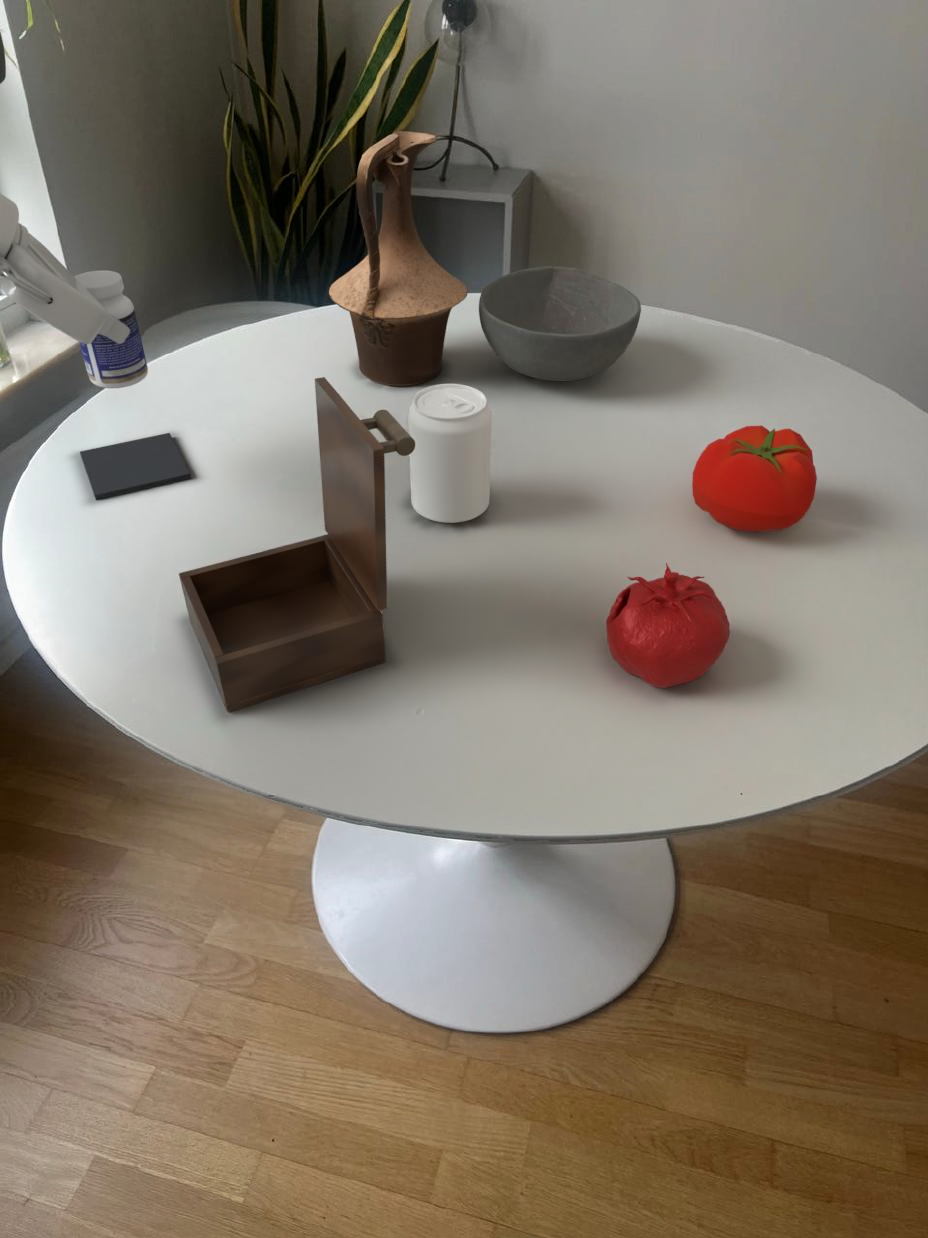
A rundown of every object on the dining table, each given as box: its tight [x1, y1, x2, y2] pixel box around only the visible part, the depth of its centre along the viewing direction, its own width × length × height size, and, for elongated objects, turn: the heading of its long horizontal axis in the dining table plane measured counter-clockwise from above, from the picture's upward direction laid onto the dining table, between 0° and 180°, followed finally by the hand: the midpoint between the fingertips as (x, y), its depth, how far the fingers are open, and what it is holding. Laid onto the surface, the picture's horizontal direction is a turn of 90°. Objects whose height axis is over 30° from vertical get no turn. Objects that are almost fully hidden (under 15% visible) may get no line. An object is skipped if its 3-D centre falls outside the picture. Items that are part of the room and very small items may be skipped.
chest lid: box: [314, 376, 415, 611], centre depth 75 cm, size 14×13×5 cm
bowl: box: [478, 266, 642, 382], centre depth 118 cm, size 20×20×10 cm
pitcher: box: [328, 130, 469, 386], centre depth 113 cm, size 18×17×28 cm
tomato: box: [691, 425, 818, 532], centre depth 93 cm, size 13×12×8 cm
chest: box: [178, 533, 386, 713], centre depth 79 cm, size 14×13×5 cm
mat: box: [79, 432, 192, 501], centre depth 102 cm, size 10×10×1 cm
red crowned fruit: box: [605, 562, 731, 688], centre depth 76 cm, size 10×10×9 cm
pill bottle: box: [73, 270, 149, 389], centre depth 90 cm, size 6×6×10 cm
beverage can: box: [407, 383, 493, 524], centre depth 93 cm, size 8×8×12 cm
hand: (112, 322), depth 90 cm, fingers closed on pill bottle, 6 cm apart
